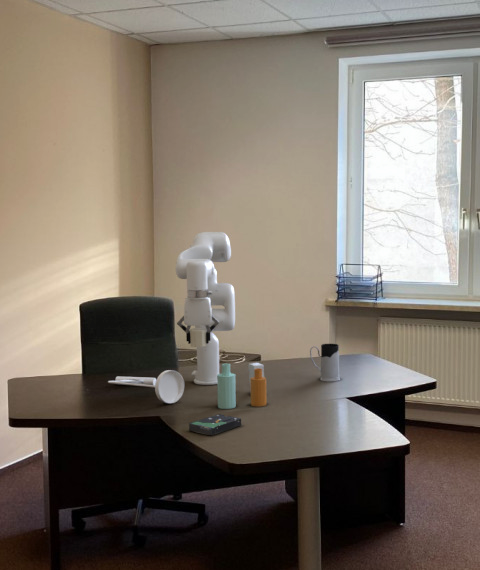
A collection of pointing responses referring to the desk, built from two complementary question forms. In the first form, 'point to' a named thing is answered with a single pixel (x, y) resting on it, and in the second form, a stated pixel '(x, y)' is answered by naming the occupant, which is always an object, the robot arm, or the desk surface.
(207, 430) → the disk drive
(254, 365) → the cosmetic box
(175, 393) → the desk lamp
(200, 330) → the cream short cylinder
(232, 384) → the bottle
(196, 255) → the robot arm
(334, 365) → the glass holder
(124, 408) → the desk surface
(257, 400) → the amber bottle
